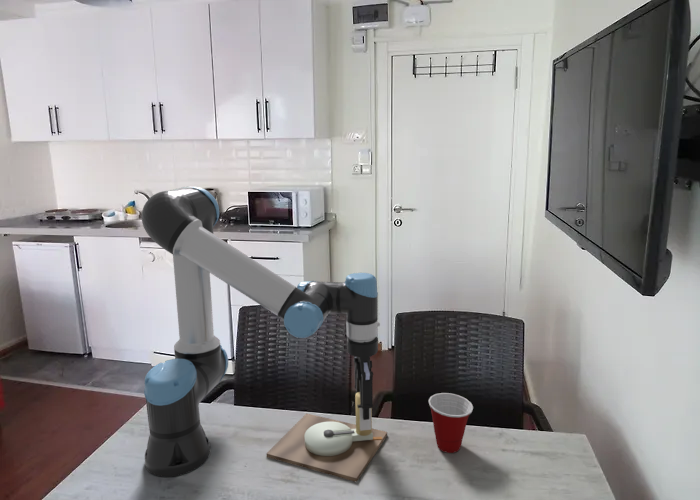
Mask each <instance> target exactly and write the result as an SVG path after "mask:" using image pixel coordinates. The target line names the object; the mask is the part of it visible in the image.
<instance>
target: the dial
mask: <svg viewBox="0 0 700 500" xmlns="http://www.w3.org/2000/svg"><path fill="white" fill-rule="evenodd" d="M354 395H355V397H354V399H355V425H356V429H350V428H349V427H348V426H347V425H345V424H342V423H339V422H321V423H318V424H315V425H313V426H311V427H310V428H308V429H307V431H306V432H305V446H306V448H307V449H308V450H309V451H310V452H311V453H313V454H316V455H320V456H334V455H338V454H341V453H344V452H345V451H347V450H348V449H349V448H350V447H351V445H352V442H353V441H363V440H373V433H372V429H373V424H372V423H373V420H372V418H373V417H372V415H373V413H372V412H373V411H372V409H373V408H371V430H362V431H360V408H358V405H360V392H357V393H356V392H355V394H354Z"/></svg>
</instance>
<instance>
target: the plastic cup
mask: <svg viewBox="0 0 700 500" xmlns="http://www.w3.org/2000/svg"><path fill="white" fill-rule="evenodd" d="M428 404H429V405H428V406H429V407H430V410H431V411H430V412H431V416H432V417H431V418H432V425H433V431H434V435H435V442H436V445H437V448H438V449H439V450H440V451H442V452H445V453H449V454H453V453H457V452H458V451H459V450H461V447H462V444H463V443H462V442H463V438H464V435H465V433H466V432H465V430H466V426H467V423H468V419H469V417H470V415H471V414H472V412H473V409H474V406H473V404H472V402H471V401H469V400H468V399H467V398H465V397H464V396H461V395H459V394H456V393H451V392H450V393H449V392H441V393H435V394H433V395H431V396H430V397H429V398H428Z"/></svg>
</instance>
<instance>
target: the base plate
mask: <svg viewBox="0 0 700 500" xmlns="http://www.w3.org/2000/svg"><path fill="white" fill-rule="evenodd" d="M321 422H339V423H342V424H345V425H347V426H348V427H349V428H350V429H356V423H351V422H345V421H341V420H336V419H333V418H328V417H323V416H319V415H315V414H311V413H305V414H304V415H303V416H302V417H301V418H300V419H299V420H298V421H297V422H296V423H295V424H294V425H293V426H292V427H291V428H290V429H289V430H288V431H287V432H286V433H285V434H284V435H283V436H282V437H281V438H280V439H279V440H278V441H277V442H276V443H275V444H274V445H273V446H272V447H271V448H270V449H269V450H268V451H267V452H266V453H265V455H266V458H269V459H272V460H276V461H279V462H282V463H283V462H284V463H287V464H289V465H290V464H291V465H293V466H294V465H295V466H297V467H301V468H304V469H307V470H311V471H315V472H319V473H321V474H325V475H326V474H327V475H329V476H334V477H336V478H340V479H343V480H347V481H351V482H354V483H358V481H359V479H360V478H361V476H362V475H363V473H364V472H365V470H366V469H367V467H368V465H370V462H371V461H372V459H373V458H374V457H375V455H376V453H377V452H378V450H379V449H380V447H381V446H382V444H383V443H384V441H385V440H386V438H388V437H387V436H388V431H385V430H381V429H377V428H372V433H373V440H363V441H353V442H352V445H351V447H350V448H349V449H348V450H347V451H345V452H344V453H341V454H338V455H334V456H320V455H316V454H313V453H311V452H310V451H309V450H308V449H307V448H306V446H305V432H306V431H307V429H308V428H310V427H311V426H313V425H315V424H318V423H321Z"/></svg>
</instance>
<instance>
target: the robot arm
mask: <svg viewBox="0 0 700 500" xmlns="http://www.w3.org/2000/svg"><path fill="white" fill-rule="evenodd" d="M219 217H220V206H219V204H218V201H217V200H216V198H215V197H214V195H212V194H211V192H209V190H207V189H205V188H203V187H199V186H182V187H179V188H175V189H169V190H162V191H159V192H157V193H155V194H154V195H153V194H152V195H151V196H150V197H149V198H148V200H146V202H145V203H144V205H143V208H142V211H141V222H142V226H143V229H144V231H145V232H146V234H147V235H148V236H149V238H150V239H151V240H152V241H153V242H155V243H156V244H157V245H158V246H160V247H161V248H162V249H163V250H165V251H166V252H168V253H170V254H171V255H172V261H173V262H172V263H173V274H174V284H175V285H174V286H175V294H176V295H175V298H176V299H175V300H176V310H177V311H176V312H177V323H178V336H179V339H178V340H177V341H176V342H175V343H174V347H173V351H174V358H172V359H167V360H165V362H159V363H158V364H156V365H154V366H153V367H152V368H151V369H149V370H148V372H147V373H146V374H145V377H144V388H143V389H144V390H143V394H144V398H145V403H146V404H145V405H146V414H147V421H148V427H149V428H148V430H149V435H148V441H147V444H146V446H147V447H146V449H145V452H144V463H145V468H146V470H147V471H148V473H151V475H154V476H157V477H163V478H164V477H165V478H167V477H177V476H182V475H186V474H189V473H191V472H193V471H195V470H197V469H198V468H199V467H201V466H203V464H205V463H206V462H207V461H208V460H209V457H210V455H211V445H210V444H211V443H210V440H209V437H207V434H206V432H205V430H204V428H203V426H202V424H201V417H200V414H201V413H200V402H201V401H203V400H204V399H205V397H207V395H208V394H210V392H212V390H213V389H214V388H216V386H218V385H219V383H220V382H221V381H222V380H223V378H224V376H225V375H226V373H227V371H228V368H229V357H228V353H227V351H226V350H225V348H223V347H222V344H221V340H220V338H219V337H217V336H216V335H215V334H214V331H215V329H214V317H213V315H214V314H213V301H212V300H213V299H212V290H211V289H212V287H211V275H212V276H213V277H216V278H218V279H219V280H220V281H222V282H223V283H225V284H227V285H229V286H230V287H232V288H234V289H235V290H237V292H240V293H241V294H242V295H244V296H246V297H248V298H249V299H250V300H252V301H254V302H255V303H256V304H259V306H262V307H263V308H265V309H266V310H268V311H269V312H271V313H272V314H274V315H276V316H277V317H278V318H280V319H281V320H282V321H283V324H284V327H285V329H286V330H287V331H288V333H289V334H290V335H291V336H293V337H295V338H297V339H306V338H309V337H311V336H313V335H314V334H315V332H317V331H318V329H320V328H321V326H322V325H323V323H324V321H325V319H326V318H327V317H328V315H329V314H340V315H341V314H345V316H346V321H345V322H346V324H345V325H346V328H345V329H346V337H347V339H346V347H347V353H348V354H349V355H350V356H352V357H353V364H354V365H353V366H354V389H355V394H356V393H357V392H360V405H358V408H360V431H362V430H371V408H372V409H373V407H374V405H373V403H374V402H373V399H374V397H373V394H374V393H373V378H374V377H373V376H374V372H373V370H372V368H373V362H372V361H373V360H371V357H372V356H375V355H376V354H377V353H378V352H379V337H378V334H379V333H378V332H379V331H378V330H379V329H378V327H380V326H381V323H380V322H378V319H379V318H378V311H379V309H378V306H379V305H378V304H379V303H378V302H379V300H378V299H379V292H378V283H377V281H378V280H377V277H376V276H375V275H373V274H372V273H368V272H354V273H350V274H348V275H346V276H345V281H342V282H341V281H340V282H338V281H337V282H336V281H335V282H334V281H317V280H310V281H309V280H308V281H307V280H306V281H300V282H299V283H298V284H297V286H295V285H293V284H292V283H291V282H289V281H287V280H286V279H284V278H282V277H281V276H280V275H278V274H276V273H275V272H273V271H272V270H270V269H268V268H267V267H266V266H264V265H262V264H261V263H260V262H258V261H256V260H254V259H253V258H252V257H250V256H248V254H245V253H243V252H242V251H241V250H239V249H237V248H236V247H234V246H233V245H231V244H229V243H228V242H226V241H225V240H223V239H222V238H220V237H219V236H217V235H216V234H214V227H215V225H216V224H217V223H218V221H219Z"/></svg>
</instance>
